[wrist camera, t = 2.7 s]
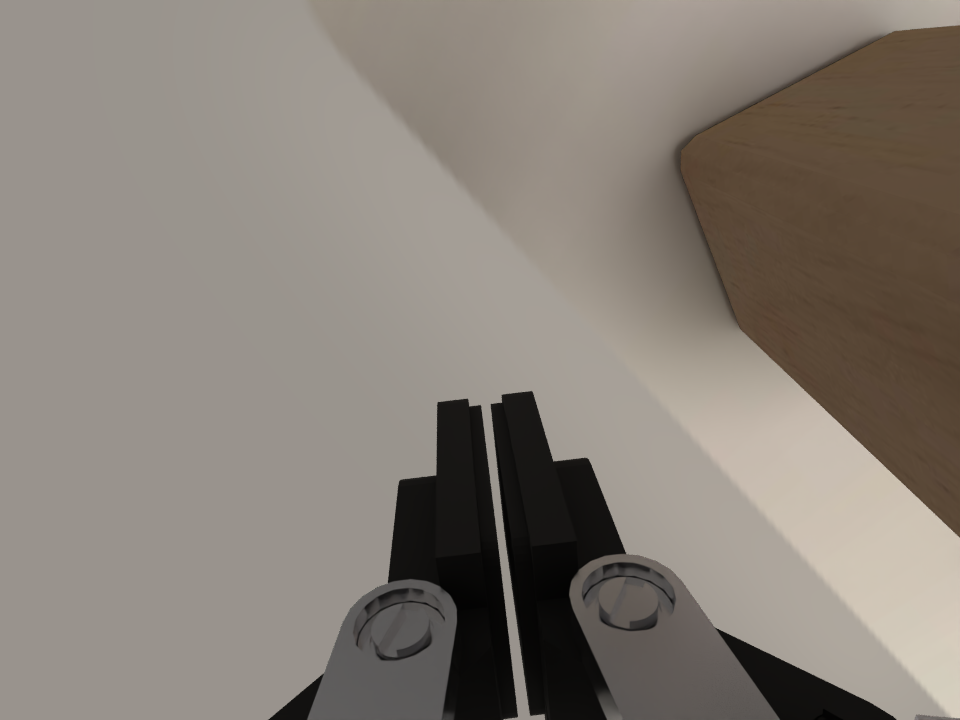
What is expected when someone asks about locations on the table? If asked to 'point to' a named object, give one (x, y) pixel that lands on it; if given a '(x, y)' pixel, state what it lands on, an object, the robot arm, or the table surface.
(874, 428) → the wooden block
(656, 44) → the table surface
